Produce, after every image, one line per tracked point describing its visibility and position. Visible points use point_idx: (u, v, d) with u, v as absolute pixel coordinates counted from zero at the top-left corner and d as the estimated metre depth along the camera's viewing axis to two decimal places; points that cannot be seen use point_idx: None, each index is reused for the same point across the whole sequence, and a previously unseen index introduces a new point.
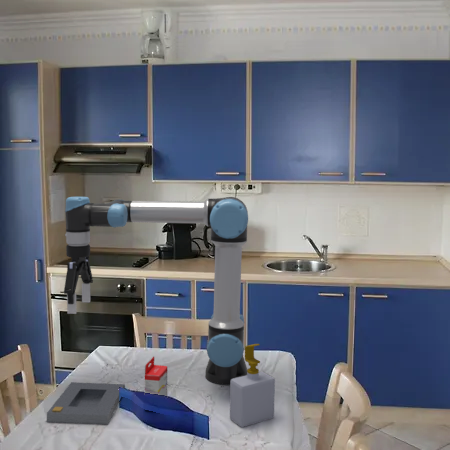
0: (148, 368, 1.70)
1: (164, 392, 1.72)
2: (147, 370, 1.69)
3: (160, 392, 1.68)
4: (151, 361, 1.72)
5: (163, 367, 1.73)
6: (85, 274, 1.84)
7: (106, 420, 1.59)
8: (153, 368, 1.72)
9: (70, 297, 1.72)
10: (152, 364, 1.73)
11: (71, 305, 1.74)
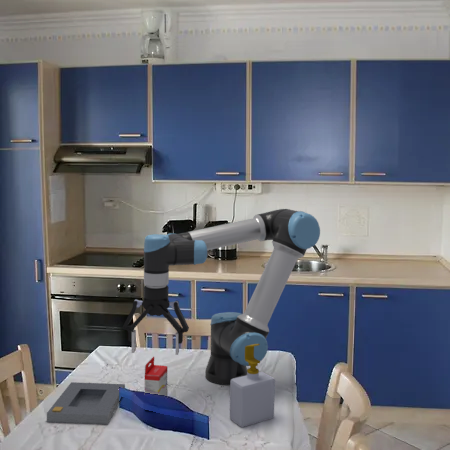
0: (148, 368, 1.70)
1: (164, 392, 1.72)
2: (147, 370, 1.69)
3: (160, 392, 1.68)
4: (151, 361, 1.72)
5: (163, 367, 1.73)
6: None
7: (106, 420, 1.59)
8: (153, 368, 1.72)
9: None
10: (152, 364, 1.73)
11: None
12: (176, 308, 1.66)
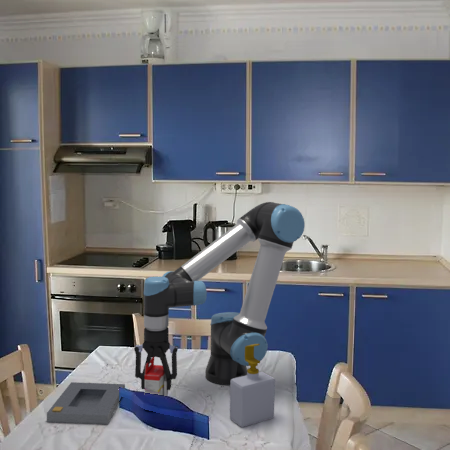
0: (148, 368, 1.70)
1: None
2: (147, 370, 1.69)
3: (160, 392, 1.68)
4: (151, 361, 1.72)
5: None
6: None
7: (106, 420, 1.59)
8: (153, 368, 1.72)
9: None
10: (152, 364, 1.73)
11: None
12: (174, 354, 1.68)
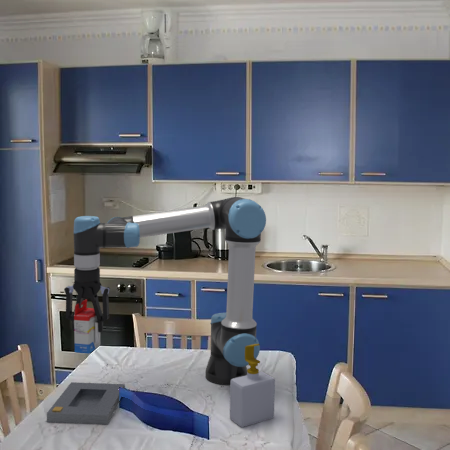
0: (79, 309, 1.66)
1: None
2: (77, 311, 1.65)
3: (90, 333, 1.64)
4: (83, 303, 1.68)
5: None
6: None
7: (106, 420, 1.59)
8: (85, 310, 1.68)
9: None
10: (84, 306, 1.70)
11: None
12: (105, 294, 1.65)
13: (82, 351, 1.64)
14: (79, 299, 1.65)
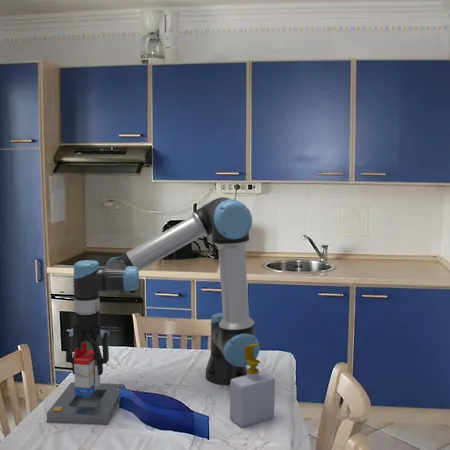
0: (79, 353, 1.68)
1: None
2: (77, 354, 1.67)
3: (90, 377, 1.66)
4: (83, 346, 1.70)
5: None
6: None
7: (106, 420, 1.59)
8: (85, 353, 1.70)
9: None
10: (84, 349, 1.71)
11: None
12: (104, 338, 1.67)
13: (82, 394, 1.66)
14: (79, 343, 1.67)
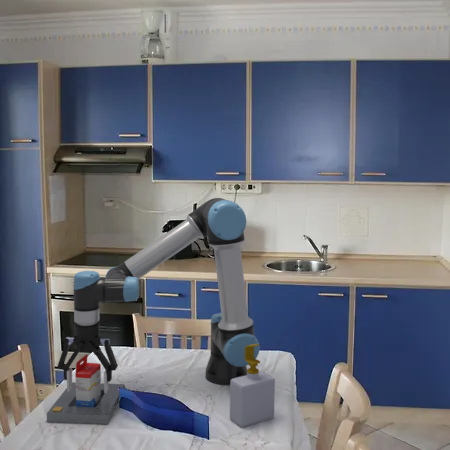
0: (80, 366, 1.68)
1: (97, 390, 1.71)
2: (78, 368, 1.67)
3: (91, 390, 1.67)
4: (83, 359, 1.71)
5: (96, 365, 1.72)
6: None
7: (106, 420, 1.59)
8: (85, 366, 1.71)
9: None
10: (85, 362, 1.72)
11: None
12: (106, 346, 1.67)
13: None
14: (76, 352, 1.67)
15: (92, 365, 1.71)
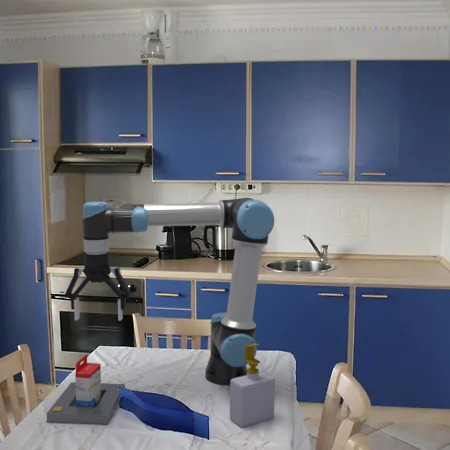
0: (80, 366, 1.68)
1: (97, 390, 1.71)
2: (78, 368, 1.67)
3: (91, 390, 1.67)
4: (83, 359, 1.71)
5: (96, 365, 1.72)
6: None
7: (106, 420, 1.59)
8: (85, 366, 1.71)
9: None
10: (85, 362, 1.72)
11: None
12: (117, 274, 1.68)
13: None
14: (85, 282, 1.68)
15: (92, 365, 1.71)
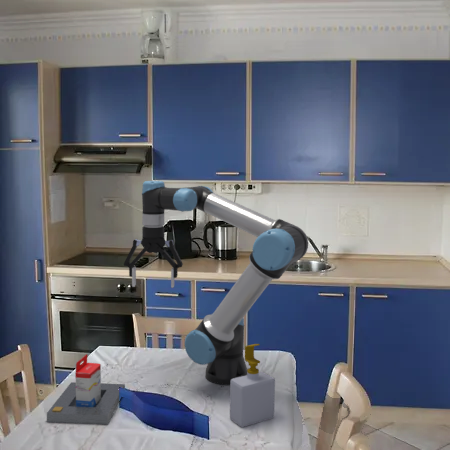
0: (80, 366, 1.68)
1: (97, 390, 1.71)
2: (78, 368, 1.67)
3: (91, 390, 1.67)
4: (83, 359, 1.71)
5: (96, 365, 1.72)
6: None
7: (106, 420, 1.59)
8: (85, 366, 1.71)
9: None
10: (85, 362, 1.72)
11: None
12: (171, 246, 1.88)
13: None
14: (143, 252, 1.88)
15: (92, 365, 1.71)
